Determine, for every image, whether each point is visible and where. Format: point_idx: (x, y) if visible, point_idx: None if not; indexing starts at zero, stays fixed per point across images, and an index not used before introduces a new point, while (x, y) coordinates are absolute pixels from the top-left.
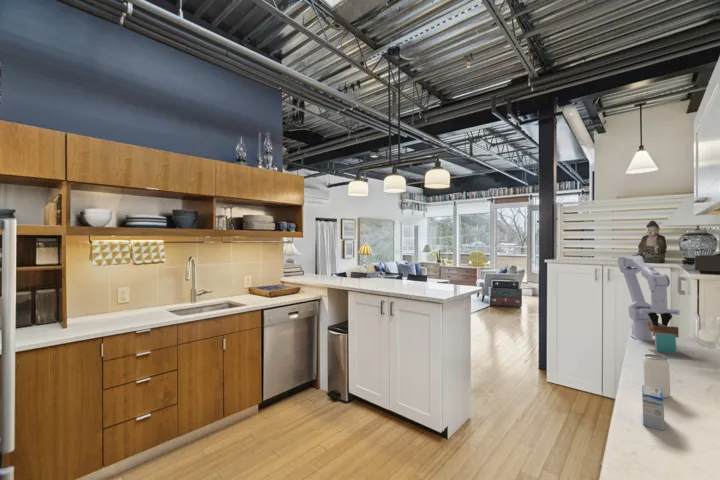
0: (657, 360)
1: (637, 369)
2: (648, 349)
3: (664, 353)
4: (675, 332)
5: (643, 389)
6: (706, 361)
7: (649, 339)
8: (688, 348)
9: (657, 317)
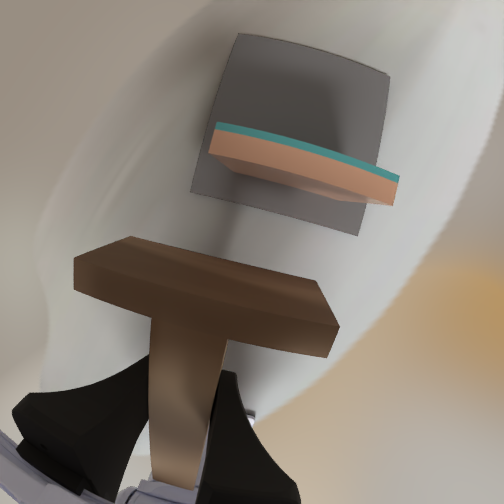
0: None
1: (495, 37)
2: (357, 232)
3: (322, 144)
4: (129, 250)
5: None
6: (184, 45)
7: None
8: None
9: (226, 466)
